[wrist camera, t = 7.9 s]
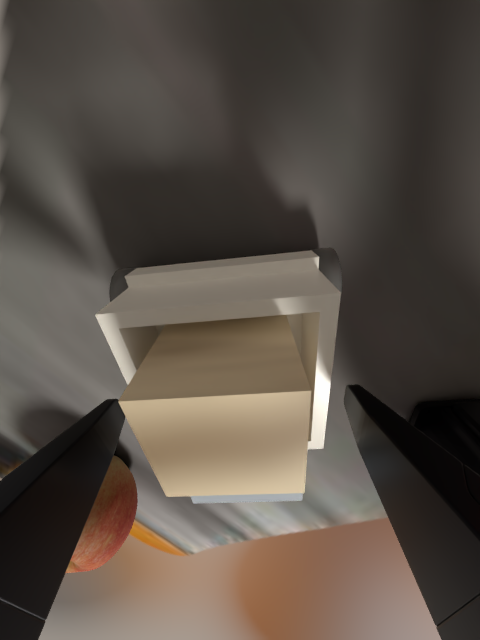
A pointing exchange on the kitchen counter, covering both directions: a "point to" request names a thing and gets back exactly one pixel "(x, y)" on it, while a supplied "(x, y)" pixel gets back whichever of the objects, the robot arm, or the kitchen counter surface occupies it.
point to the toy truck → (234, 316)
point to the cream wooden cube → (223, 408)
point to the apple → (107, 519)
